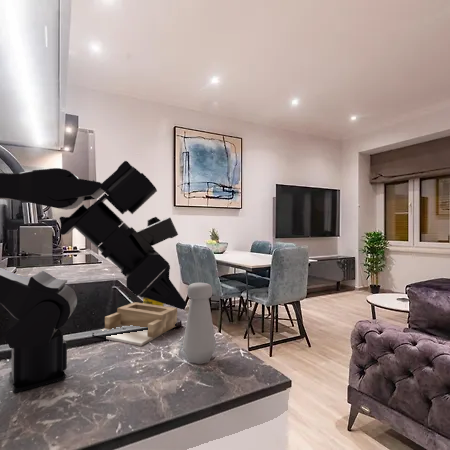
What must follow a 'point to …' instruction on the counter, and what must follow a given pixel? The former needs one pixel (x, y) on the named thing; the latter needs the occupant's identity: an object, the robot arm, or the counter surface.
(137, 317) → the dock
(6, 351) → the counter surface
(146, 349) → the counter surface
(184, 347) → the salt shaker
